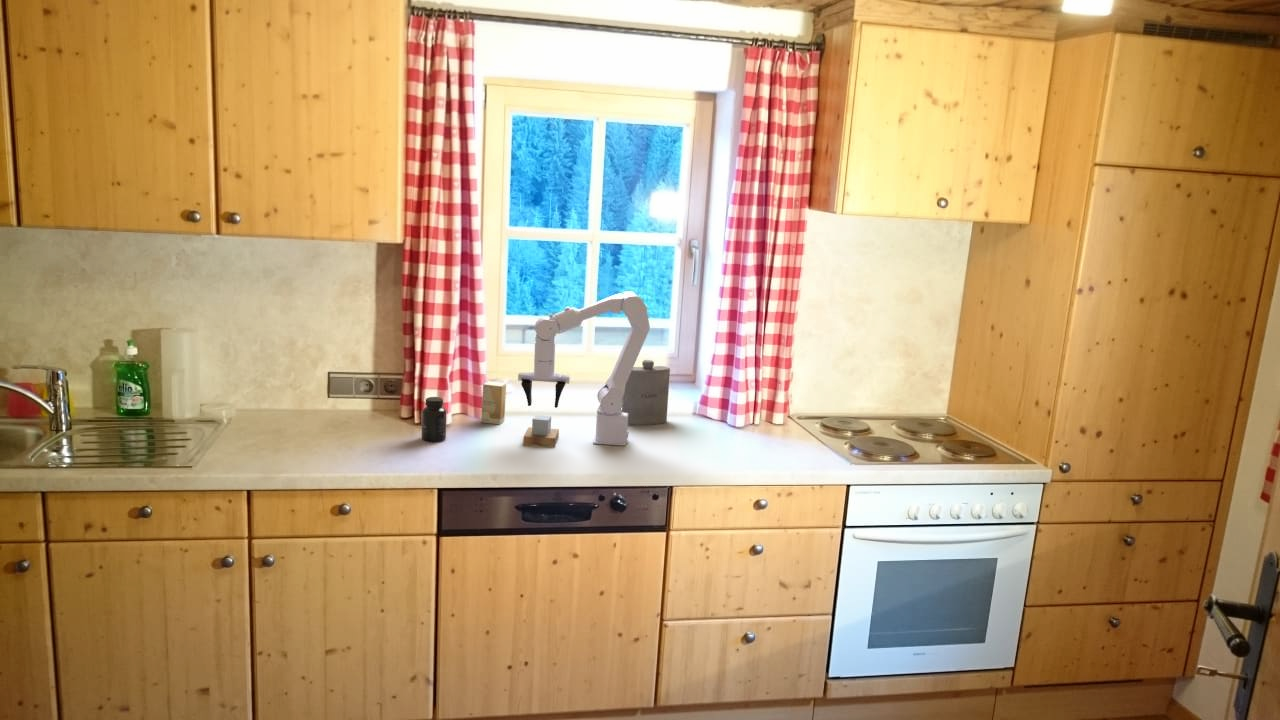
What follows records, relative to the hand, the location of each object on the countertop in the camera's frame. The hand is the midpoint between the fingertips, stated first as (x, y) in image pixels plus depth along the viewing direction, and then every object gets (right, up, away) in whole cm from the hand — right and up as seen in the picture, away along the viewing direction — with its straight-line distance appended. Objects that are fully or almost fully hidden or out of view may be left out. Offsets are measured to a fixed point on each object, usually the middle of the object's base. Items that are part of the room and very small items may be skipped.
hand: (543, 405), depth 269 cm
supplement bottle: (-31, -10, -2) cm, 32 cm away
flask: (+29, -7, +27) cm, 40 cm away
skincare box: (-17, -6, +18) cm, 26 cm away
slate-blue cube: (-1, -8, +1) cm, 8 cm away
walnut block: (-1, -11, +2) cm, 11 cm away
